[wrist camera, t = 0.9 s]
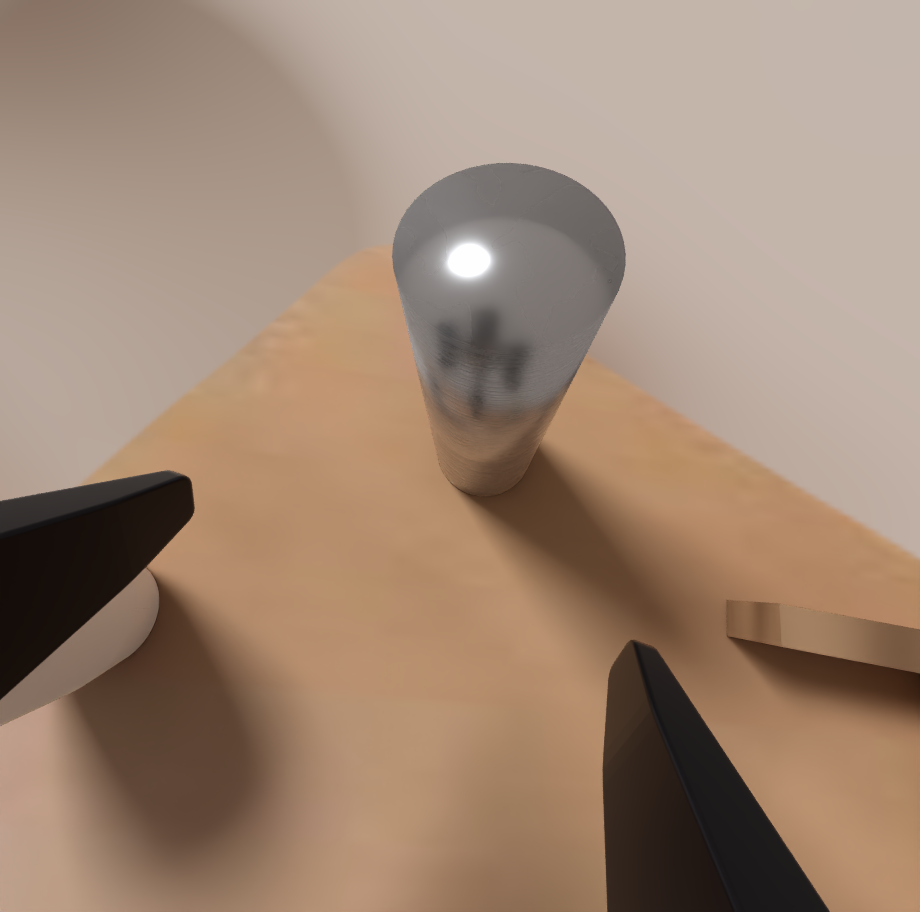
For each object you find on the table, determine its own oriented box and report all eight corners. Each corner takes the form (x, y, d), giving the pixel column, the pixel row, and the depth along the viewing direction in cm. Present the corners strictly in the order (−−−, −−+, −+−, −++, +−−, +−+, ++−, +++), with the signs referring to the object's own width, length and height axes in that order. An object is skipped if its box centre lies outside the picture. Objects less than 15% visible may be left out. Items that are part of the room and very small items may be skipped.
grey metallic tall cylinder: (535, 493, 21) (646, 342, 8) (439, 499, 21) (394, 358, 8) (524, 405, 23) (604, 156, 10) (435, 411, 23) (390, 170, 10)
